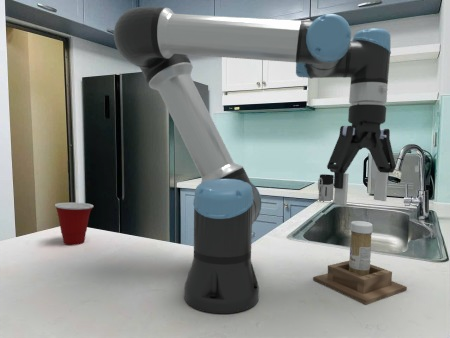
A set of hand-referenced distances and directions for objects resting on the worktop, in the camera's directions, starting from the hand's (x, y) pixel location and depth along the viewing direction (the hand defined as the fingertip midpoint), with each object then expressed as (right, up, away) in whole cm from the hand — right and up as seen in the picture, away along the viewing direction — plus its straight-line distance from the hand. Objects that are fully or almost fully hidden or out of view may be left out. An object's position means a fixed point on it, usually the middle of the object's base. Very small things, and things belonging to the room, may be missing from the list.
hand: (360, 202), depth 77 cm
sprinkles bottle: (0, -18, +1) cm, 18 cm away
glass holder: (+25, -11, +116) cm, 119 cm away
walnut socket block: (0, -19, +1) cm, 19 cm away
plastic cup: (-76, -15, +29) cm, 83 cm away
